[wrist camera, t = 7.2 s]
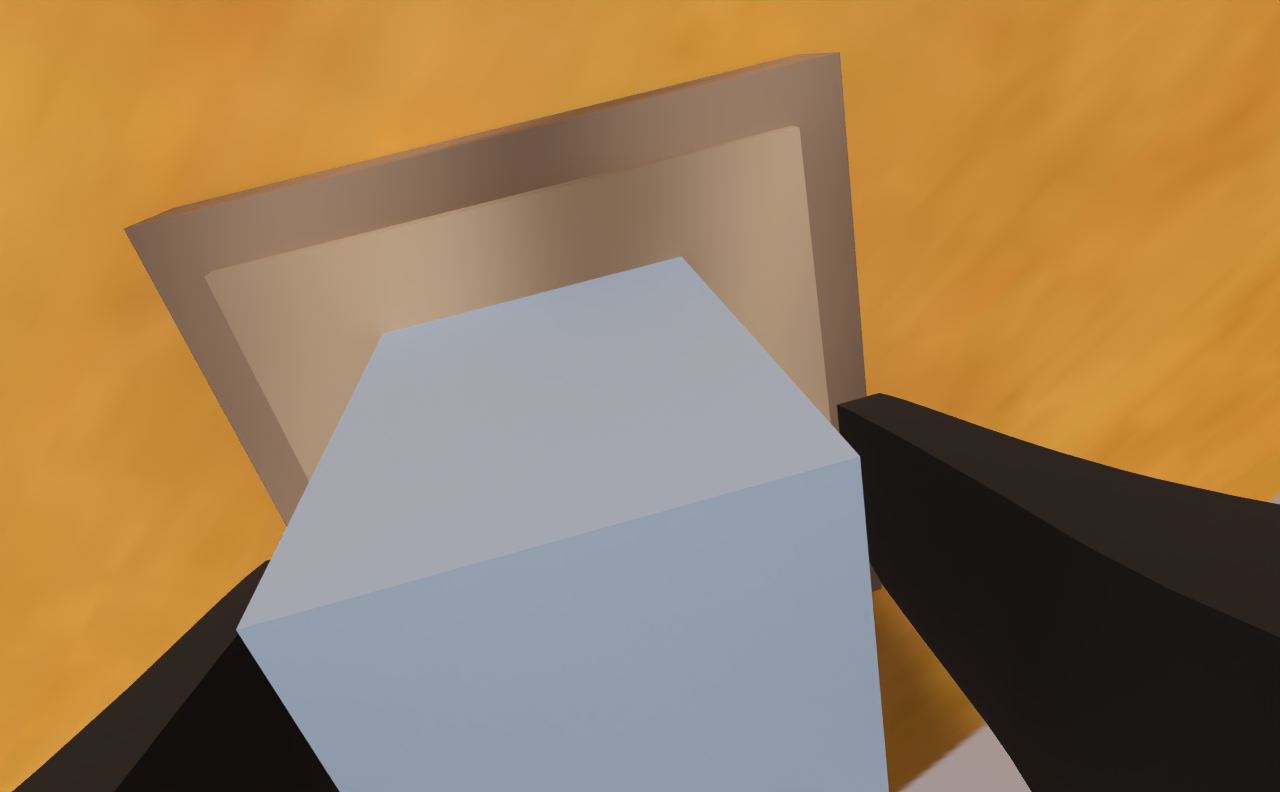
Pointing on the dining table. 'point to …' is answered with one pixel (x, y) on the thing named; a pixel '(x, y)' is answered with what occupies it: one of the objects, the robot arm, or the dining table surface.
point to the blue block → (579, 561)
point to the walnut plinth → (521, 245)
